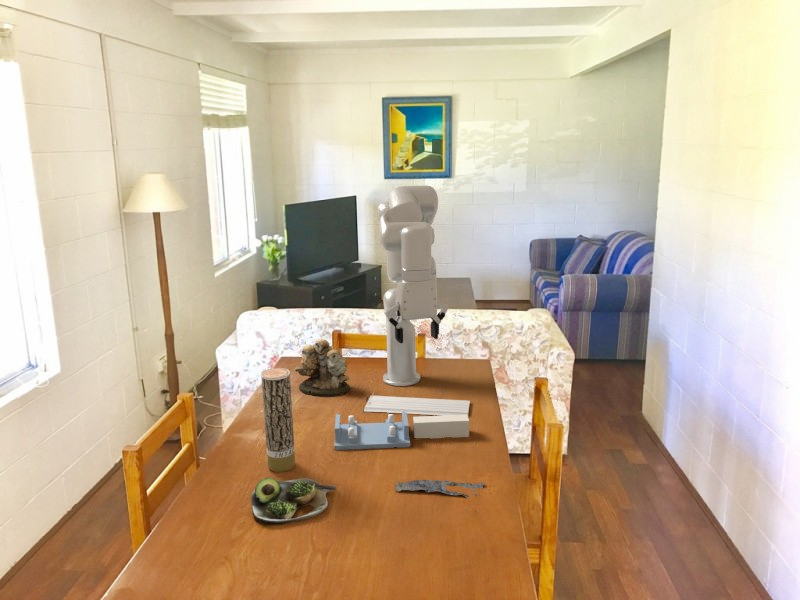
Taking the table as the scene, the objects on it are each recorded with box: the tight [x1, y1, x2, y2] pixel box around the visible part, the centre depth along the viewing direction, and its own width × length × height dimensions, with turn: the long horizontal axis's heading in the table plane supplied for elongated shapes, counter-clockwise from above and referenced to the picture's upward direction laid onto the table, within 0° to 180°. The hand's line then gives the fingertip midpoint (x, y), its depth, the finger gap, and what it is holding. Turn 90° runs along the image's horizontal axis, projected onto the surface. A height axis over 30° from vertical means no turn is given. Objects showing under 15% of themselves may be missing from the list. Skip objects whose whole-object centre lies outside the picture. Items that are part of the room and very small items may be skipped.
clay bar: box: [412, 415, 470, 439], centre depth 181 cm, size 15×4×5 cm, turn 94°
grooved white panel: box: [362, 393, 471, 417], centre depth 198 cm, size 31×3×12 cm
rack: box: [333, 412, 411, 451], centre depth 179 cm, size 20×13×5 cm, turn 94°
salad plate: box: [250, 477, 337, 526], centre depth 149 cm, size 19×18×5 cm
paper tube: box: [260, 367, 296, 473], centre depth 162 cm, size 7×7×25 cm
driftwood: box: [395, 479, 484, 499], centre depth 154 cm, size 21×7×2 cm, turn 80°
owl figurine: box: [294, 338, 351, 397], centre depth 212 cm, size 18×12×17 cm, turn 81°
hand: (417, 339), depth 171 cm, fingers open, 9 cm apart
